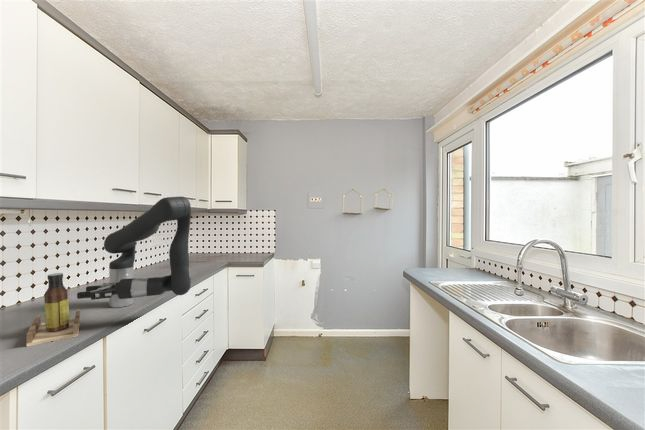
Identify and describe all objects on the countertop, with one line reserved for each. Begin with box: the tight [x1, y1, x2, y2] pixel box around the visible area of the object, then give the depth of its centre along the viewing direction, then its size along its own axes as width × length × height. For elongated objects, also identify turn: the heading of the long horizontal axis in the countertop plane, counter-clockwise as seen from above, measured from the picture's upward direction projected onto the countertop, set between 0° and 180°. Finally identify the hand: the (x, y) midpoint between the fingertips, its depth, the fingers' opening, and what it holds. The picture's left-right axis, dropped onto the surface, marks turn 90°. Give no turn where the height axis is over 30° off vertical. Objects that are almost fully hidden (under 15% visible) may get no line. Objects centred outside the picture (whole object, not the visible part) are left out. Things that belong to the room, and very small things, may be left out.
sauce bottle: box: [44, 272, 70, 332], centre depth 101 cm, size 6×6×20 cm
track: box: [26, 308, 81, 347], centre depth 102 cm, size 20×12×4 cm, turn 39°
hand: (82, 292), depth 104 cm, fingers open, 8 cm apart
